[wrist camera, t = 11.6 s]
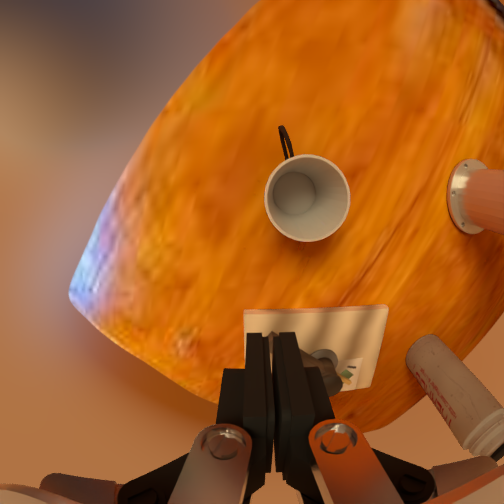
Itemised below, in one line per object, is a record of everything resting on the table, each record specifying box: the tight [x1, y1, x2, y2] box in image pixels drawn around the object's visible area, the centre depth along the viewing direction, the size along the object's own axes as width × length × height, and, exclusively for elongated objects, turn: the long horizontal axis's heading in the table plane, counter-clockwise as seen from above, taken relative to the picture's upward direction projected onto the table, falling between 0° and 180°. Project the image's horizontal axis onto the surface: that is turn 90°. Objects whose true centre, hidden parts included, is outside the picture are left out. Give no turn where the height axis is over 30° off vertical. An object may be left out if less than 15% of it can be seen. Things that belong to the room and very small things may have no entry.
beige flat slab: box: [244, 304, 389, 391], centre depth 42 cm, size 22×16×2 cm
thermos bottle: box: [406, 335, 504, 462], centre depth 30 cm, size 8×8×28 cm
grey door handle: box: [267, 331, 352, 397], centre depth 38 cm, size 18×4×5 cm, turn 53°
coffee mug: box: [264, 125, 350, 242], centre depth 31 cm, size 12×9×10 cm
